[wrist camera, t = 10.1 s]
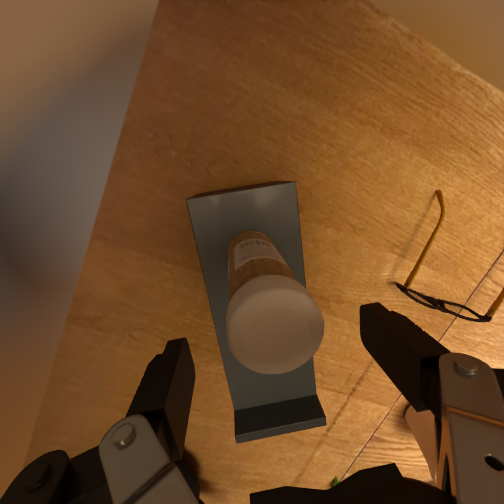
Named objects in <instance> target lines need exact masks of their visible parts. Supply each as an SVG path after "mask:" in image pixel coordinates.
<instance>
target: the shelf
mask: <svg viewBox="0 0 504 504" xmlns="http://www.w3.org/2000/svg"><path fill="white" fill-rule="evenodd" d="M186 202H187V206H188V211H189V215H190V220H191V224H192V228H193V233H194V237H195V241H196V246H197V250H198V254H199V259H200V263H201V267H202V272H203V276H204V281H205V285H206V289H207V294H208V298H209V302H210V307H211V311H212V315H213V320H214V324H215V329H216V333H217V337H218V342H219V346H220V350H221V355H222V359H223V363H224V368H225V372H226V376H227V381H228V385H229V390H230V394H231V398H232V403H233V407H234V420H235V439H236V443H242V442H247V441H252V440H257V439H262V438H266V437H271V436H276V435H281V434H286V433H291V432H296V431H301V430H306V429H311V428H315V427H320V426H325V425H326V416H325V414H324V411H323V409H322V406H321V404H320V402H319V399H318V397H317V394H316V384H315V374H314V364H313V356H312V357H311V358H310V359H309V360H308V361H307V362H306V363H304V364H303V365H301V366H300V367H298V368H296V369H294V370H292V371H289V372H285V373H281V374H263V373H258V372H255V371H252V370H250V369H248V368H246V367H245V366H243V365H242V364H241V363H240V362H239V361H238V360H237V359H236V358H235V357H234V355H233V354H232V352H231V350H230V348H229V345H228V341H227V330H226V313H227V308H228V305H229V302H230V297H229V280H228V248H229V244H230V242H231V241H232V240H233V239H234V237H235V236H237V235H238V234H240V233H242V232H244V231H249V230H252V231H258V232H262V233H263V234H265V235H266V236H268V237H269V238H270V240H271V242H272V243H273V246H274V247H275V248H276V249H277V251H278V252H279V254H280V255H281V256H282V258H283V259H284V261H285V262H286V264H287V265H288V267H289V268H290V270H291V271H292V273H293V275H294V277H295V279H296V280H297V282H299V283H300V284H301V285H303V286H304V287H305V288H306V283H305V272H304V262H303V252H302V242H301V232H300V222H299V212H298V201H297V191H296V182H295V181H274V182H268V183H262V184H256V185H250V186H244V187H237V188H231V189H225V190H219V191H213V192H207V193H201V194H197V195H194V196H192V197H190V198H188V199H186Z"/></svg>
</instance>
